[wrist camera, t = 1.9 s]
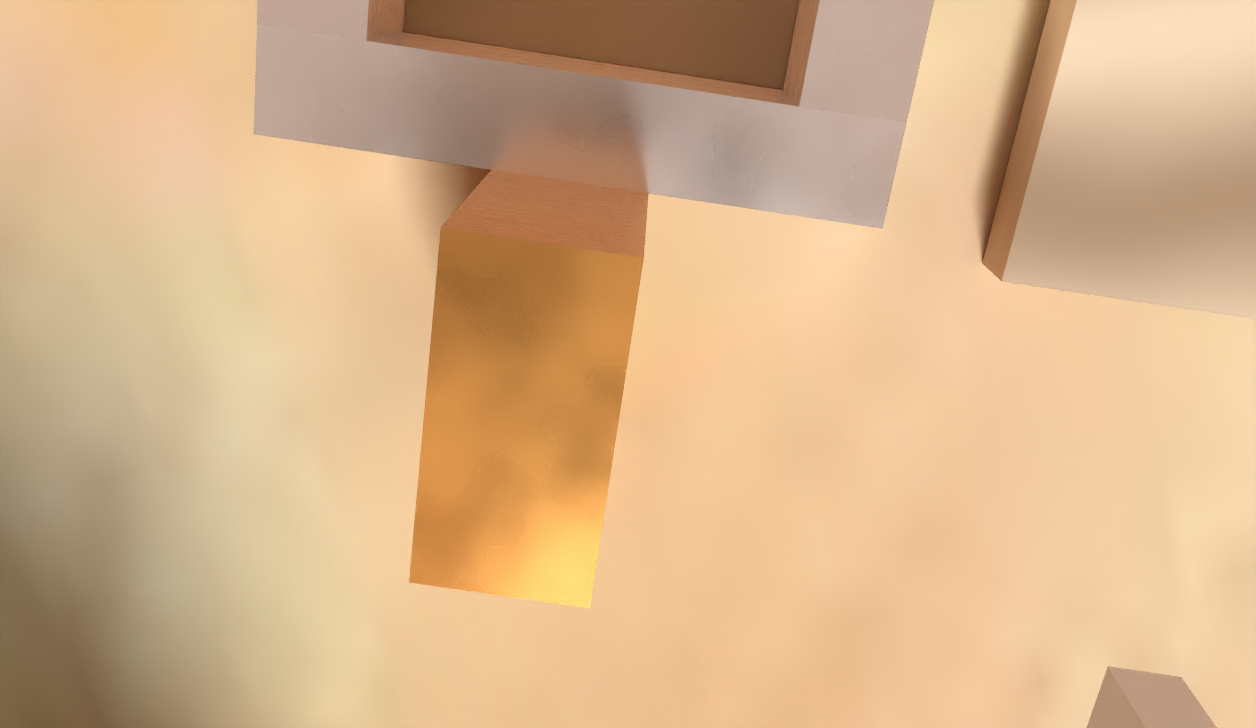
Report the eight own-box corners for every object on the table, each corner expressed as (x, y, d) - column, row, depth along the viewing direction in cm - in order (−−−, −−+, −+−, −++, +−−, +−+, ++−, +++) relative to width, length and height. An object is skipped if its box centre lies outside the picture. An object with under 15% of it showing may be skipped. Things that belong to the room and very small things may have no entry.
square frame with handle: (333, -567, 20) (129, -898, 12) (998, -458, 20) (1201, -719, 12) (290, 375, 26) (136, 543, 18) (802, 450, 26) (858, 646, 18)
